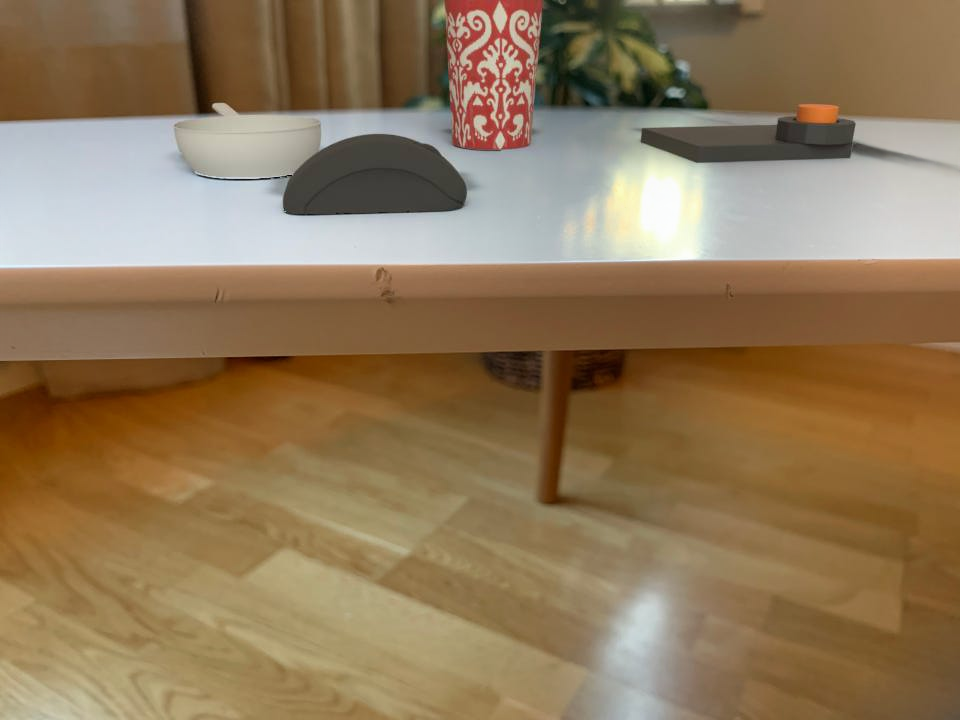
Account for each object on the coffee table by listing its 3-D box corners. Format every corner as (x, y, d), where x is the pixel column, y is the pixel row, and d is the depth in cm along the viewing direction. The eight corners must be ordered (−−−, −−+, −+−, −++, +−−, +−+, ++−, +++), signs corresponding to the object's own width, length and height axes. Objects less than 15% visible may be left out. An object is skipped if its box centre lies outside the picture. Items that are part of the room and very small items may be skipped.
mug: (552, 151, 72) (558, -17, 67) (450, 153, 71) (449, -19, 65) (521, 132, 83) (524, -12, 78) (433, 134, 82) (431, -14, 77)
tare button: (821, 122, 71) (824, 103, 70) (843, 126, 68) (847, 107, 68) (787, 122, 70) (790, 104, 70) (809, 127, 67) (812, 108, 67)
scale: (779, 139, 80) (784, 107, 79) (864, 160, 68) (870, 123, 67) (640, 143, 77) (642, 110, 76) (703, 166, 65) (707, 127, 64)
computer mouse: (470, 210, 50) (470, 143, 48) (282, 215, 48) (275, 146, 47) (456, 190, 56) (456, 129, 54) (288, 194, 54) (283, 132, 52)
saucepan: (190, 187, 56) (182, 130, 54) (160, 151, 71) (153, 105, 69) (342, 176, 60) (338, 122, 59) (283, 144, 75) (279, 100, 74)
